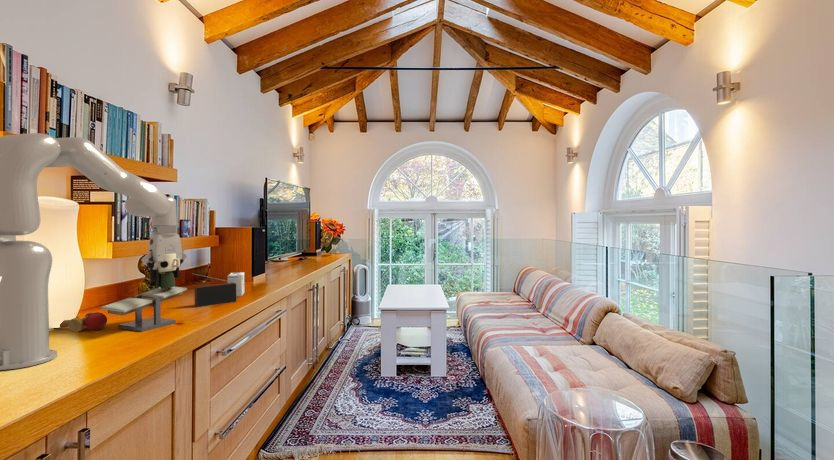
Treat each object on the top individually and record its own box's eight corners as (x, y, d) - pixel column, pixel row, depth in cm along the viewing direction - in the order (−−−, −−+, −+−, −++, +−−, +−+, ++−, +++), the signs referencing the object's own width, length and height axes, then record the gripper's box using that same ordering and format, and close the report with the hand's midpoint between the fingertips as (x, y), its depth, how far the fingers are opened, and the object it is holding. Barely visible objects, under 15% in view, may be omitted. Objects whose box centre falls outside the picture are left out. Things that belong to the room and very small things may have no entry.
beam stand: (141, 331, 130) (141, 300, 130) (118, 328, 134) (118, 298, 134) (175, 323, 141) (175, 294, 141) (153, 320, 146) (153, 292, 145)
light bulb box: (230, 293, 201) (230, 272, 200) (244, 292, 203) (244, 271, 202) (227, 297, 190) (227, 275, 190) (242, 296, 192) (242, 274, 192)
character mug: (143, 290, 140) (143, 254, 140) (157, 287, 147) (157, 252, 147) (173, 290, 140) (173, 254, 139) (186, 287, 147) (185, 252, 147)
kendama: (42, 336, 129) (93, 330, 128) (43, 317, 130) (93, 310, 129) (65, 334, 137) (113, 328, 136) (66, 316, 138) (113, 309, 137)
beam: (126, 319, 125) (124, 309, 125) (103, 316, 130) (101, 306, 129) (188, 296, 146) (186, 287, 145) (166, 294, 150) (164, 285, 149)
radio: (233, 300, 181) (233, 268, 181) (236, 301, 179) (236, 269, 179) (189, 307, 168) (188, 272, 168) (191, 308, 166) (191, 273, 166)
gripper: (147, 231, 134) (147, 282, 134) (193, 230, 150) (193, 276, 150) (133, 231, 136) (133, 281, 137) (179, 230, 153) (180, 275, 153)
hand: (165, 278), depth 143 cm, fingers closed on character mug, 7 cm apart
